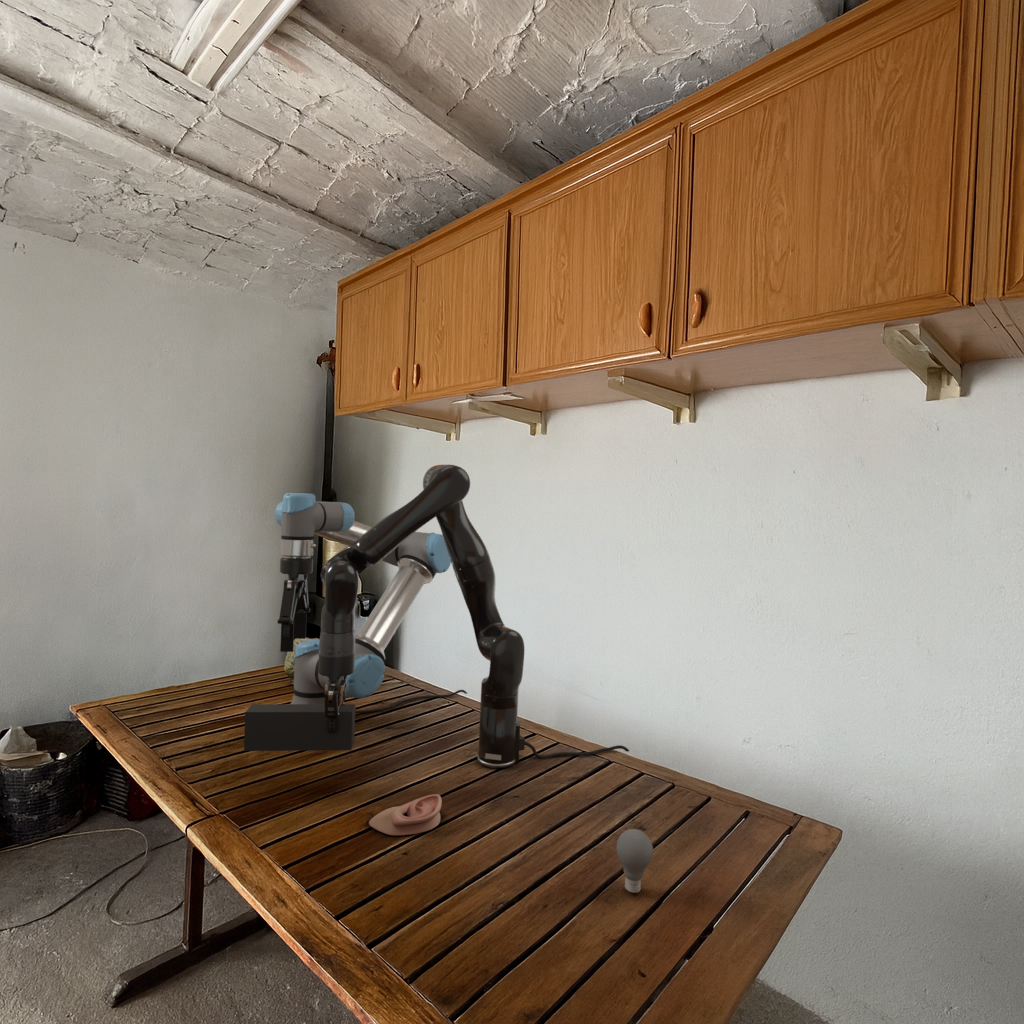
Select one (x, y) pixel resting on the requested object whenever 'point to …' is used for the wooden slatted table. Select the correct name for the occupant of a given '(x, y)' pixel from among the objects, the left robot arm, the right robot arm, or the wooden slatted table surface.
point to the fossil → (292, 659)
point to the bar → (296, 728)
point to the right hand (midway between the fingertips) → (334, 728)
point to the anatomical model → (409, 817)
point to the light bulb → (634, 857)
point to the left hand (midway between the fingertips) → (293, 644)
